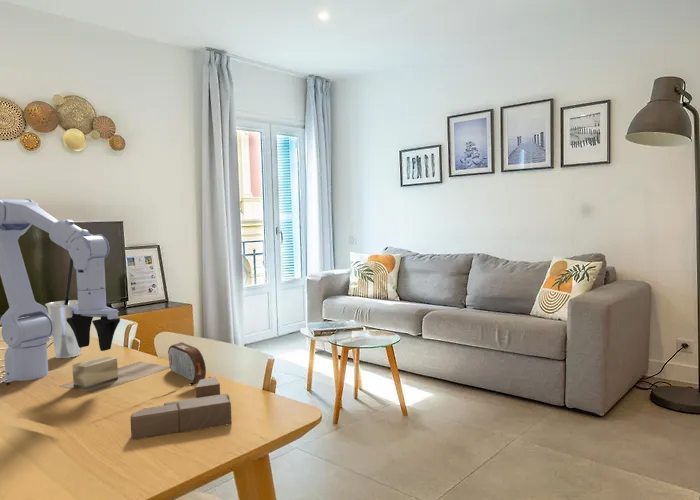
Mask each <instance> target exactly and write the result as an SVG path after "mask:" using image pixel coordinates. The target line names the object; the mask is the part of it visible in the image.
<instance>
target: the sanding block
mask: <svg viewBox="0 0 700 500" xmlns="http://www.w3.org/2000/svg"><path fill="white" fill-rule="evenodd" d="M118 368H119V367H118V358H117V357H112V356H105V355H103V356H100V357H96V358H92V359H89V360H85V361H82V362H78V363H74V364H72V380H73V381H72V382H73V384H74V387H77V388H81V389H86V390H87V389H90V388H93V387H96V386H99V385H102V384H105V383H108V382H112V381H115V380H118Z"/></svg>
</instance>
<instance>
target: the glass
mask: <svg viewBox="0 0 700 500" xmlns="http://www.w3.org/2000/svg"><path fill="white" fill-rule="evenodd" d="M68 265H69V266H68V274H67V282H66V289H65V299H64V300H59V301H53V302H52V301H51V302H47V303H44V307H46V309H47V312H48V314H49V316H50V317H51V318H52V320H53V323H54V332H53V334H52V336H51V337H52V341H53V349H54V355H55V359H60V358H63V359H72V358H76V357H79V356H81V355H82V353H81V351H82V348H79V346H78V343H77V340H76V337H75V335H74V332H73V330H72V328H71V327H70V325H69V324H68V322H67V321H66V319H67V318H71V317H72V315H69V307H71V306H78V299H72V300H70V292H71V291H70V290H71V284H72V278H73V277H72V275H73V270H74V269H73V268H74V263H73V260H72V258H71V257H70V259H69V264H68ZM78 355H79V356H78ZM75 356H76V357H75ZM71 357H72V358H71Z"/></svg>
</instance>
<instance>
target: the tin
mask: <svg viewBox="0 0 700 500" xmlns="http://www.w3.org/2000/svg"><path fill="white" fill-rule="evenodd" d="M167 354H168V362H169V365H168V366H170V368H169V369H170V371H171V373H175V374H177V375H179V376H180V377H183V378H186V379H188V380H190V381H192V382H190V383H189V385H190V384H191V385H193V386H194V385H197V384H198V383H199V381H200V380H201V379H206V376H207V374H206V373H207V369H206V362H205V359H204V357H203V354H202V353H201V351H200V350H199V349H198V348H197V347H196V346H193V345H190V344H188V343H185V342H183V341H181V342H180V341H179V343H175V344H172V345H170V346H169V347H168V351H167Z"/></svg>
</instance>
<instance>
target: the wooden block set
mask: <svg viewBox="0 0 700 500" xmlns="http://www.w3.org/2000/svg"><path fill="white" fill-rule="evenodd" d="M129 418H130V420H129V421H130V436H131V440H133V441H134V440H135V441H136V440H141V439H146V438H151V437H158V436H162V435H163V436H164V435H168V434H175V433H187V432H194V431H198V430H199V429H200V430H204V429H205V428H206V429H211V428H210V427H212V428H217V427H223V426H227V425H226V424H229V425H232V423H233V422H232V420H233V419H232V402H231V400H230V395H229V393H221V383H220V382H219V380H218V378H217V377H216V376H211V377H207V378H206V377H205V379H201V380H200V381H199V383H197V384H196V386H195V398H194V397H193V398H188V399H181V400H175V401H168V402H164V403H163V405H157V406H152V407H146V408H144V407H143V408H142V409H140V410H138V411H136V412H133V413H132V414H131V415H130V417H129ZM222 425H223V426H222ZM193 430H194V431H193Z"/></svg>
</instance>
